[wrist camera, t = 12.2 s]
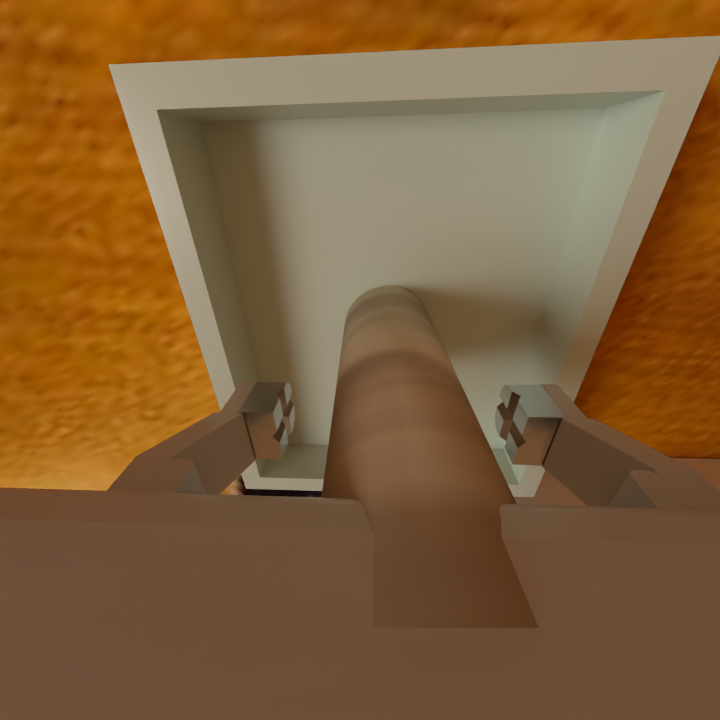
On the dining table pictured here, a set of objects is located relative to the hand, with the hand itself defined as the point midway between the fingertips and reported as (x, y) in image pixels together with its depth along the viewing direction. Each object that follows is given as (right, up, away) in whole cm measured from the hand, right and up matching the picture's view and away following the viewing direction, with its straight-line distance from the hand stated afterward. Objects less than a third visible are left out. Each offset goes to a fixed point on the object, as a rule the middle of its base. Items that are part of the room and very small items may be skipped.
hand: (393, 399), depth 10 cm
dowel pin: (0, +3, +5) cm, 6 cm away
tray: (0, +3, +6) cm, 7 cm away
